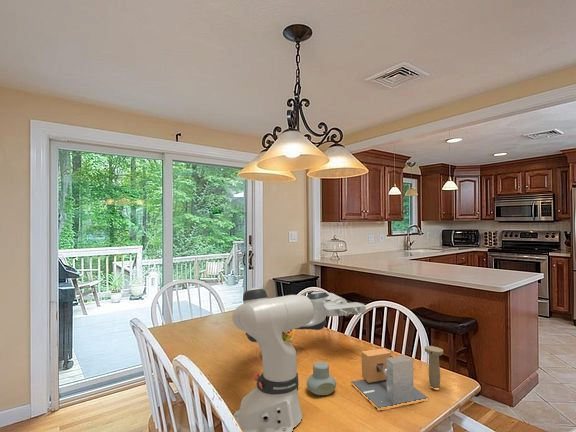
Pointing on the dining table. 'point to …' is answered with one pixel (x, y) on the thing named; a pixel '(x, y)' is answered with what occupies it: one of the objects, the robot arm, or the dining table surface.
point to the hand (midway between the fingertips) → (352, 313)
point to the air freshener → (321, 380)
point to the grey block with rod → (398, 379)
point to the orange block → (374, 364)
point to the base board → (381, 392)
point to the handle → (434, 365)
